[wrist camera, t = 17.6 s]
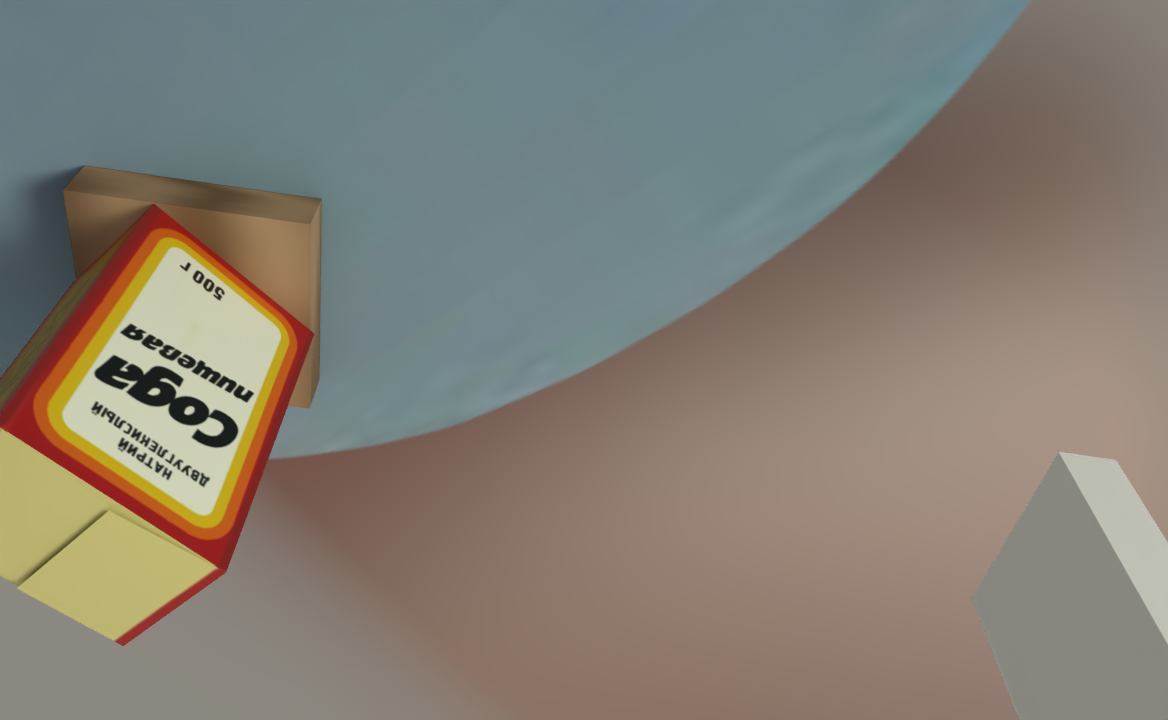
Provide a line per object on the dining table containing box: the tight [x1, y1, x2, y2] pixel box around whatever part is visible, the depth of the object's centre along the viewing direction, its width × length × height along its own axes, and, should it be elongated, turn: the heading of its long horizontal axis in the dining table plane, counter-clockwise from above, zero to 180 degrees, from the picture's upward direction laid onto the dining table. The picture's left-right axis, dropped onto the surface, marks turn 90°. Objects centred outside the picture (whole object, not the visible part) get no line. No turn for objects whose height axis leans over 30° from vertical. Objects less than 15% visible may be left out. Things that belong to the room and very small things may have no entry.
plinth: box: [63, 166, 321, 408], centre depth 51 cm, size 11×11×2 cm
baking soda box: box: [0, 204, 314, 646], centre depth 43 cm, size 10×6×16 cm
